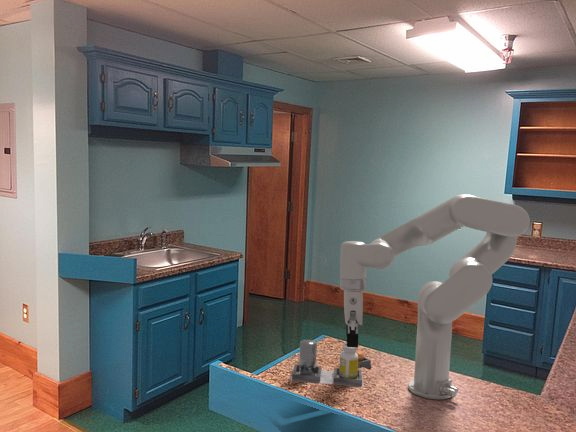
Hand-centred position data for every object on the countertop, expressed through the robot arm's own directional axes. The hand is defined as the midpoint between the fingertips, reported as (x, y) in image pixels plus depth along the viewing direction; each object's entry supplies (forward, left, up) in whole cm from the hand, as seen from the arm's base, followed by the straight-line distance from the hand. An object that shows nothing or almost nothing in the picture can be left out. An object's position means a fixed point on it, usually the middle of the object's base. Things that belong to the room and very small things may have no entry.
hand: (352, 341), depth 145 cm
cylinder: (+8, +10, -11) cm, 17 cm away
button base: (+9, -11, -12) cm, 19 cm away
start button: (+9, -11, -10) cm, 17 cm away
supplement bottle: (0, 0, -11) cm, 11 cm away
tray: (+4, +5, -12) cm, 14 cm away
